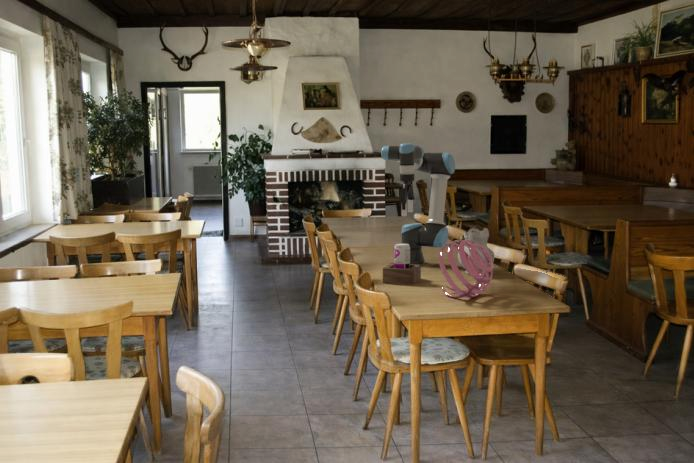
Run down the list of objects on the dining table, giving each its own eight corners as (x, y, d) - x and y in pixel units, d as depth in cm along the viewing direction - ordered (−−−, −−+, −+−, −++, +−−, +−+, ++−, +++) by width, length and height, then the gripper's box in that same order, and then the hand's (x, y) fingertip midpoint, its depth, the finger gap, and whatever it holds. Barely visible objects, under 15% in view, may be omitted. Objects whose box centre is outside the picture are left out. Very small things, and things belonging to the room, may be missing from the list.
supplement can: (397, 275, 388) (397, 246, 386) (391, 272, 396) (392, 243, 394) (412, 274, 391) (412, 245, 388) (406, 271, 398) (406, 242, 396)
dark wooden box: (391, 276, 404) (391, 262, 403) (420, 278, 399) (420, 264, 398) (382, 282, 389) (382, 268, 388) (413, 284, 384) (413, 270, 383)
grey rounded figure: (492, 280, 400) (497, 233, 397) (454, 275, 404) (459, 229, 400) (492, 272, 421) (497, 227, 418) (457, 268, 425) (461, 224, 421)
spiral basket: (413, 253, 361) (456, 225, 346) (449, 260, 381) (491, 233, 366) (432, 307, 349) (477, 280, 334) (467, 310, 369) (512, 285, 354)
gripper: (405, 171, 408) (406, 210, 411) (393, 175, 384) (394, 217, 388) (419, 171, 405) (419, 210, 409) (408, 175, 382) (408, 217, 386)
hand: (407, 214), depth 398 cm, fingers open, 13 cm apart
